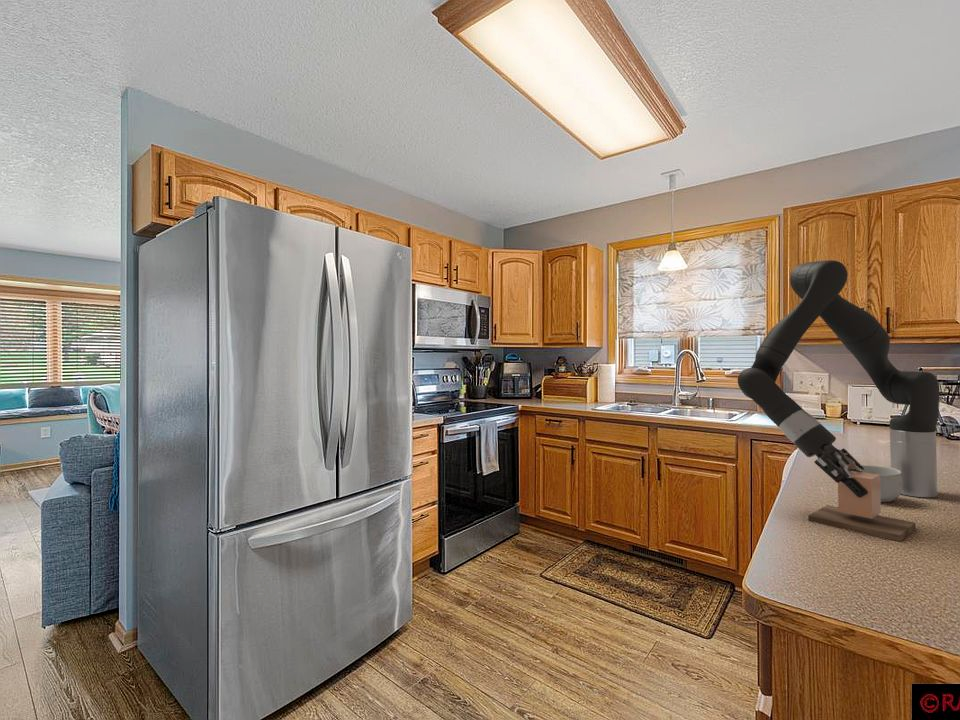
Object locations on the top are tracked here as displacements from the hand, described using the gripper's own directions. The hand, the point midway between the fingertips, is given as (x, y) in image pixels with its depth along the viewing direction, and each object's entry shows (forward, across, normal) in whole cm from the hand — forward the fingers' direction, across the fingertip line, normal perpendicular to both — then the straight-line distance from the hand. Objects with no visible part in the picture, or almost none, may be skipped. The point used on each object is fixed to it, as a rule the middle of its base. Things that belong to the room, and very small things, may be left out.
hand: (869, 492), depth 102 cm
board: (+4, 0, +6) cm, 8 cm away
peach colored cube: (+2, 0, +5) cm, 5 cm away
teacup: (+1, +27, +10) cm, 29 cm away
